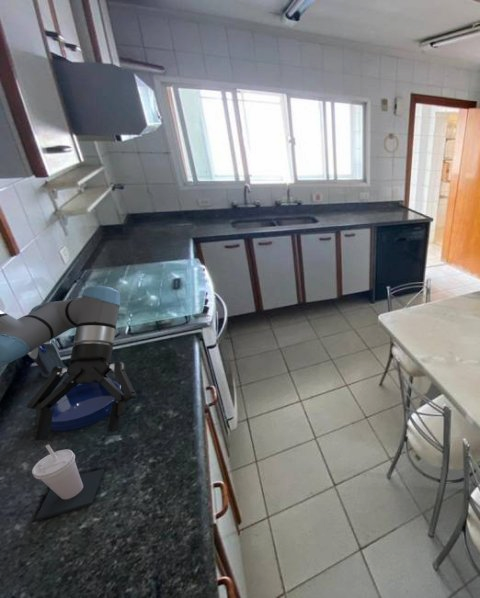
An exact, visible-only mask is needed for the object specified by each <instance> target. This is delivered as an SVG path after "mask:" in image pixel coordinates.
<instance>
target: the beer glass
mask: <svg viewBox="0 0 480 598" xmlns="http://www.w3.org/2000/svg"><path fill="white" fill-rule="evenodd" d="M27 355H28V357H29V358H30V359H31V361H33V362H34V363H35V364H36V365H37V366H38V368H39V369H40V373H41V377H42V378H44V379H48V378H49V377H50V374H51V371H52V369H53V367H61V368H68V366H67V364H65V363H64V361H63V360H62V357H61V354H60V349H59V346H58V343H57V341H56V339H55V338H53V339H52V340H50V341H48V342H46V343H44V344H42V345H41V346H39V347H37V348H36V349H34V350H32V351H31V352H29V353H28V354H27Z"/></svg>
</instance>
